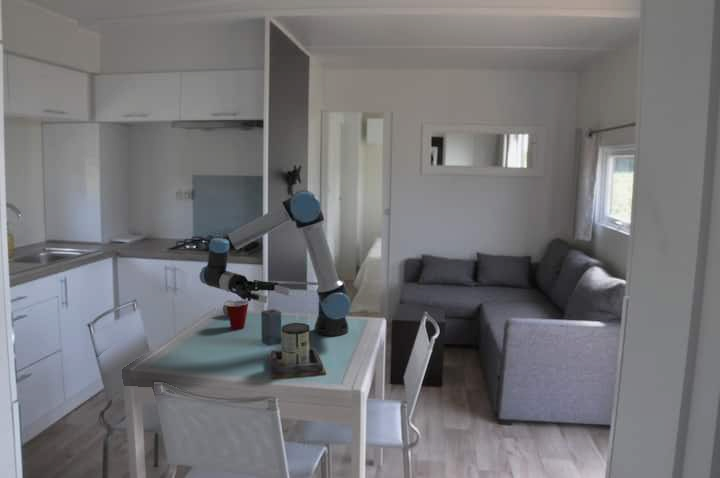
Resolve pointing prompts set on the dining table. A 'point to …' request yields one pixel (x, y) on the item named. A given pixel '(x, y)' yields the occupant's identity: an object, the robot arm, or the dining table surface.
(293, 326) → the coffee can
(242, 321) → the plastic cup
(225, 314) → the ceramic mug
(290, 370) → the tray
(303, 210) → the robot arm
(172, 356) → the dining table surface
